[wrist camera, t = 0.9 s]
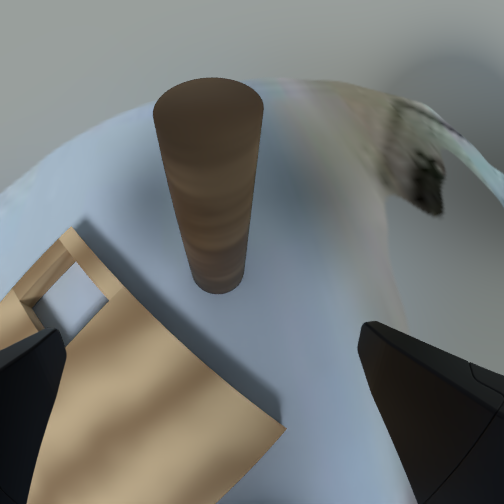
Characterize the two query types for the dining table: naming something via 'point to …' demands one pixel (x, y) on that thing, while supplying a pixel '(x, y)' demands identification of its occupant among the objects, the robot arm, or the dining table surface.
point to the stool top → (132, 402)
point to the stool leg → (211, 172)
